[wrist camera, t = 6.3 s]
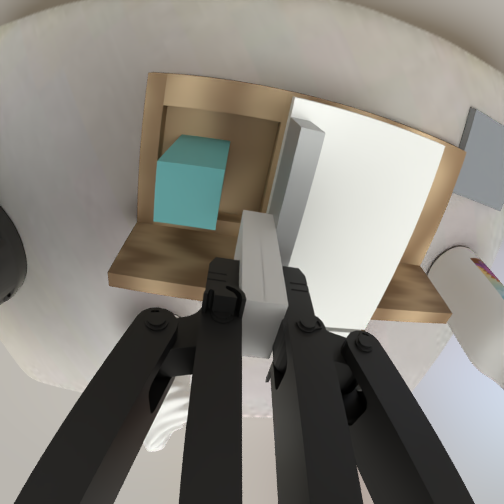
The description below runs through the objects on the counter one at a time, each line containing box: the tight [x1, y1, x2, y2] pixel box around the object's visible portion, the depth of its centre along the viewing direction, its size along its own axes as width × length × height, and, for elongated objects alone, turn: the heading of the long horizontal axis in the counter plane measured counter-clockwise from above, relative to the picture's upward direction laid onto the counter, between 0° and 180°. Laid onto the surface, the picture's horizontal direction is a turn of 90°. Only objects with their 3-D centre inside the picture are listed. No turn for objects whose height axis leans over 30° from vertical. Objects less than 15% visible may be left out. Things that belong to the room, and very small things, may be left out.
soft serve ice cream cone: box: [143, 315, 191, 451], centre depth 29 cm, size 8×8×16 cm
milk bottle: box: [428, 247, 504, 389], centre depth 24 cm, size 8×8×20 cm
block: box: [153, 134, 230, 230], centre depth 22 cm, size 4×4×8 cm
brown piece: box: [108, 72, 467, 324], centre depth 23 cm, size 28×14×10 cm, turn 79°
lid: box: [266, 96, 445, 338], centre depth 20 cm, size 9×15×11 cm, turn 169°
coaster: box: [452, 108, 504, 211], centre depth 25 cm, size 9×9×1 cm
